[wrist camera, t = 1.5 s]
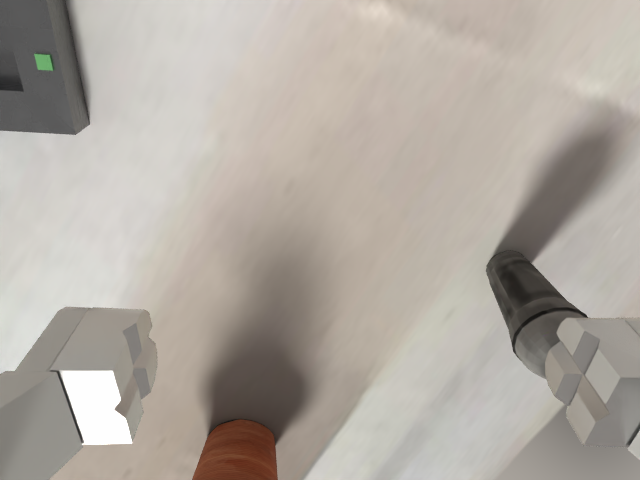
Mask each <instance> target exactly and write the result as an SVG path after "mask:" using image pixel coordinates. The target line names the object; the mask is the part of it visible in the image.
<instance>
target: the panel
mask: <svg viewBox="0 0 640 480" xmlns="http://www.w3.org/2000/svg"><path fill="white" fill-rule="evenodd" d="M88 125H89V119H88V114H87V108H86V103H85V98H84V93H83V88H82V83H81V78H80V73H79V68H78V63H77V58H76V53H75V48H74V43H73V38H72V33H71V28H70V23H69V18H68V13H67V8H66V3H65V0H0V130H2V131H19V132H37V133H54V134H72V135H76V134H77V133H79V132H80V131H81V130H83V129H84V128H85V127H87V126H88Z"/></svg>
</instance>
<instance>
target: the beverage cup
mask: <svg viewBox="0 0 640 480" xmlns="http://www.w3.org/2000/svg"><path fill="white" fill-rule="evenodd" d="M486 272H487V276H488V278H489V282H490V285H491V288H492V290H493V293H494V295H495V298H496V300H497V302H498V305H499V307H500V310H501V312H502V315H503V317H504V320H505V322H506V324H507V327H508V329H509V334H510V339H511V342H512V347H513V352H514V353H515V354H516V356H517V357H518V358H519V359H520V360H521V361H522V362H523V364H524V365H525V366H526V367H527V368H528V369H529V370H530V371H532V372H533V373H535V374H537V375H539V376H540V377H542V378H544V379H546V376H545V361H546V358H547V355H548V352H549V350H550V349H551V348H552V347H553V346H555V345H556V344H557V343H559V342H560V339H559V337H558V335H557V330H558V328H559V326H560V324H561V322H562V321H564V320H565V319H566V318H588V317H587V315H586V314H584V313H583V312H581V311H580V310H579V309H577V308H576V307H575V306H574V305H572V304H571V303H569V302H568V301H567V300H566V299H565V298H564V297H563V296H562V295H561V294H560V293H559V292H558V291H557V290H556V289H555V288H554V287H553V286H552V285H551V284H550V282H549V281H548V280H547V279H546V278H545V277H544V276H543V275H542V274H541V273H540V272H539V271H538V270H537V269H536V268H535V267H534V266H533V265H532V264H531V263H530V262H529V261H528V260H527V259H526V258H524V256H523V255H522V254H520V253H519V252H515V251H505V252H502V253H499V254H497V255H496V256H494V257H493V258H492V259H491V260H490V261H489V263H488V265H487V269H486Z"/></svg>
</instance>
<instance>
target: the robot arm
mask: <svg viewBox="0 0 640 480" xmlns="http://www.w3.org/2000/svg"><path fill="white" fill-rule="evenodd" d="M151 328H152V322H151V318H150V314H149V312H148V311H146V310H142V309H118V308H94V307H93V308H83V307H65V308H63V309H61V310H59V311H58V312H57V314H56V315H55V316H54V318H53V319H52V320H51V322H50V323H49V325H48V326H47V327H46V329H45V330H44V331H43V333H42V334H41V336H40V337H39V338H38V340H37V341H36V342H35V344H34V345H33V347H32V348H31V349H30V351H29V352H28V353H27V355H26V356H25V358H24V359H23V360H22V362H21V363H20V364H19V366H18V367H17V369H16V370H15V371H5V372H3V373H2V374H0V480H49V479H50V478H51V477H52V476H53V475H54V474H55V473H56V472H58V471H59V470H60V469H61V468H62V467H63V466H64V465H65V464H66V463H67V462H68V461H69V460H70V459H71V458H72V457H73V456H74V455H75V454H76V453H77V452H78V451H79V450H81V449H82V448H83V445H82V444H119V443H132V441H133V439H134V436H135V433H136V431H137V428H138V425H139V422H140V420H141V417H142V414H143V407H142V403H141V399H143V398H144V397H145V396H146V395H148V394H149V393H150V392H151V390H152V387H153V384H154V381H155V376H156V370H157V349H156V343H155V342H154V341H152V340H151V339H150V338H149V337H148V335H149V333H150V330H151ZM557 335H558V337H559V339H560V342H559V343H557V344H556V345H555V346H553V347H552V348H551V349H550V350H549V352H548V355H547V358H546V361H545V376H546V379H547V382H548V385H549V387H550V389H551V391H552V393H553V395H554V396H555V397H556V398H557V399H559V400H560V401H562V402H563V403H564V404H566V405H567V406H568V407H567V411H566V417H567V419H568V420H569V422H570V424H571V426H572V427H573V429H574V431H575V432H576V434H577V436H578V437H579V439H580V441H581V443H582V444H583V446H608V447H629V448H628V450H629V451H630V452H631V453H632V454H634V455H635V456H636V457H637V458H638V459H639V460H640V318H566V319H565V320H564V321H562V322H561V324H560V326H559V328H558V330H557Z"/></svg>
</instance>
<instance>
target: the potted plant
mask: <svg viewBox="0 0 640 480" xmlns="http://www.w3.org/2000/svg"><path fill="white" fill-rule="evenodd" d="M192 480H278V478H277V463H276V449H275V440H274V435H273V434H272V433H271V431H270V430H269V429H268V428H266V427H265V426H263V425H262V424H259V423H257V422H254V421H251V420H243V419H239V420H235V421H231V422H227V423H224V424H221V425H218V426H217V427H216V428H215V429H214V430H213V431H212V432H211V433H210V435H209V436H208V437H207V440H206V443H205V446H204V448H203V451H202V454H201V457H200V459H199V462H198V465H197V468H196V470H195V473H194V476H193V479H192Z"/></svg>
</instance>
